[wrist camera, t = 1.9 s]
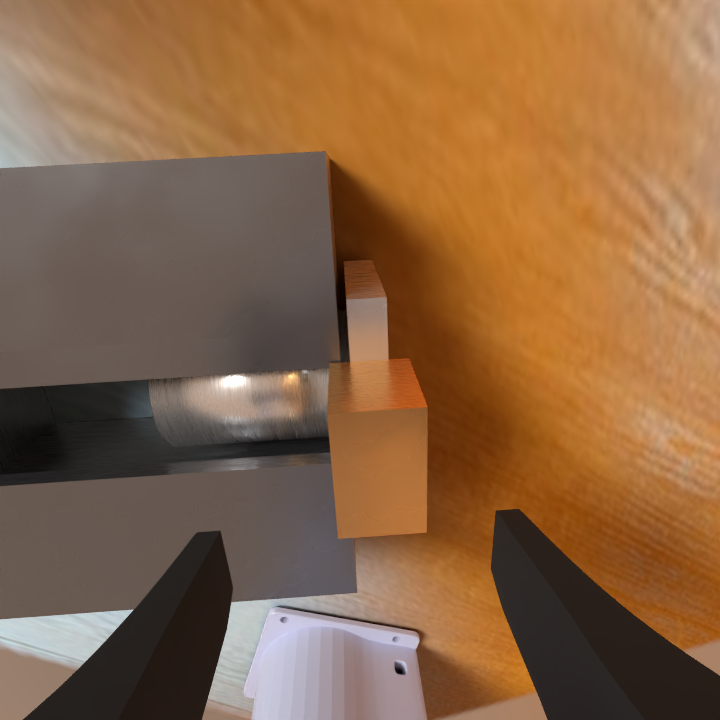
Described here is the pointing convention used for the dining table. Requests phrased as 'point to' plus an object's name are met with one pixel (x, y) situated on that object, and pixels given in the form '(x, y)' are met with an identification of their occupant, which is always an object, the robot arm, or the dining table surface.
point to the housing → (162, 375)
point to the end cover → (326, 415)
